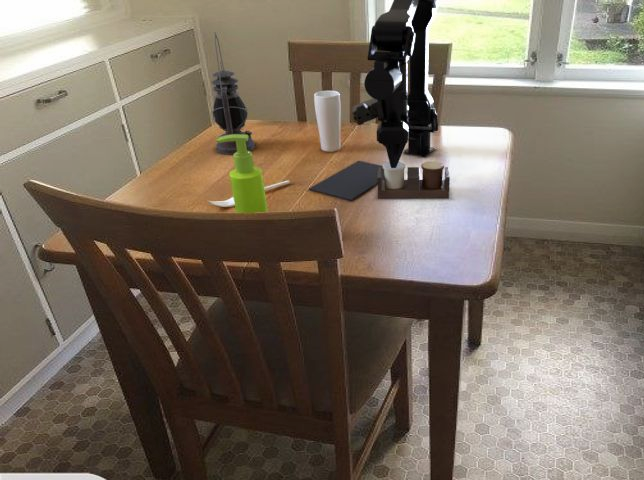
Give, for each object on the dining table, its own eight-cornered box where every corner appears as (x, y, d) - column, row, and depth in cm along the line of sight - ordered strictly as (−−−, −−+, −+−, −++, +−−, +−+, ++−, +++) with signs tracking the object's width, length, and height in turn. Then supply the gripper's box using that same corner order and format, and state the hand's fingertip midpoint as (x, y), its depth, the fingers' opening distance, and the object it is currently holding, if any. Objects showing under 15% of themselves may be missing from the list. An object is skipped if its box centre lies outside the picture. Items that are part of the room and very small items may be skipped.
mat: (358, 162, 137) (358, 160, 137) (398, 170, 131) (398, 169, 131) (308, 190, 123) (308, 188, 122) (351, 201, 117) (351, 199, 117)
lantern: (254, 154, 143) (235, 35, 128) (213, 157, 142) (190, 37, 127) (256, 139, 154) (239, 27, 138) (218, 141, 153) (197, 29, 137)
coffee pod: (390, 178, 122) (390, 159, 120) (409, 183, 120) (409, 163, 117) (378, 186, 119) (378, 166, 116) (398, 191, 116) (398, 171, 114)
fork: (293, 185, 125) (292, 178, 124) (214, 212, 114) (213, 204, 113) (286, 181, 127) (285, 174, 126) (208, 207, 116) (206, 199, 115)
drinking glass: (339, 154, 142) (335, 97, 134) (315, 153, 143) (310, 96, 135) (346, 145, 148) (342, 90, 140) (322, 144, 149) (318, 89, 141)
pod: (427, 178, 122) (428, 159, 119) (447, 183, 119) (448, 163, 117) (416, 186, 118) (417, 166, 116) (436, 191, 116) (437, 170, 113)
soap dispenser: (237, 228, 107) (219, 131, 97) (272, 226, 108) (258, 129, 97) (233, 242, 102) (213, 142, 92) (269, 240, 103) (254, 140, 92)
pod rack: (379, 187, 123) (378, 167, 120) (447, 187, 122) (448, 167, 120) (377, 198, 118) (377, 177, 115) (448, 198, 117) (449, 177, 114)
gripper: (357, 76, 116) (360, 145, 124) (348, 99, 100) (353, 176, 109) (408, 75, 116) (408, 144, 124) (408, 99, 100) (408, 176, 108)
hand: (394, 159), depth 116 cm, fingers open, 9 cm apart
